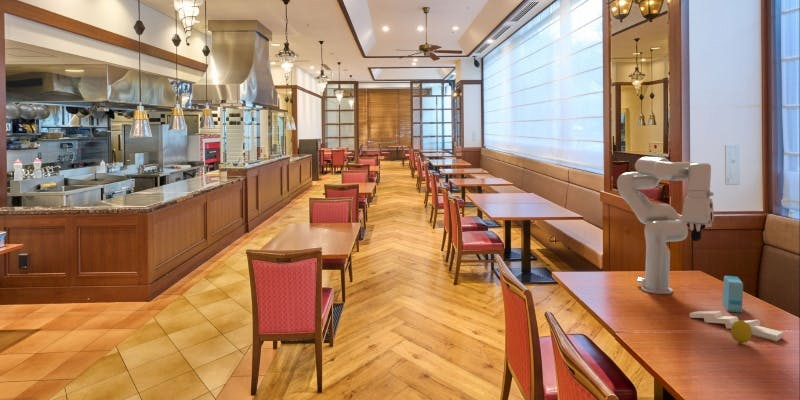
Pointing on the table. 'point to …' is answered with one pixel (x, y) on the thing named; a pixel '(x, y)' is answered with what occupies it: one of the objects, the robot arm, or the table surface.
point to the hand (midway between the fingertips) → (695, 240)
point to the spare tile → (766, 338)
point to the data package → (732, 294)
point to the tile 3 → (750, 322)
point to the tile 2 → (722, 319)
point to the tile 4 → (766, 332)
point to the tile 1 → (705, 314)
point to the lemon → (741, 331)
